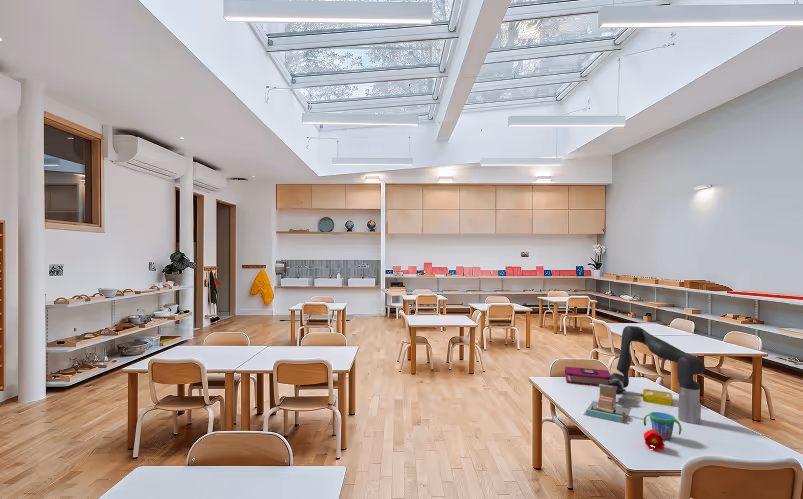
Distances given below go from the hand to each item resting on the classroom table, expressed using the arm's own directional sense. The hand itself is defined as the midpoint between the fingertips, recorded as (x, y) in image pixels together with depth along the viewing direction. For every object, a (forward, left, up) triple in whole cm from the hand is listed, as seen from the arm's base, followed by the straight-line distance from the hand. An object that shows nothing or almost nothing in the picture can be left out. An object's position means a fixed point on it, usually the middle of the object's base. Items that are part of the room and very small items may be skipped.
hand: (611, 393), depth 253 cm
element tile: (-9, -35, -8) cm, 37 cm away
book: (+36, -37, -8) cm, 52 cm away
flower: (-39, +37, -8) cm, 54 cm away
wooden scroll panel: (-6, +16, -7) cm, 18 cm away
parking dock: (-4, +11, -7) cm, 14 cm away
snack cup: (-36, +21, -8) cm, 42 cm away
